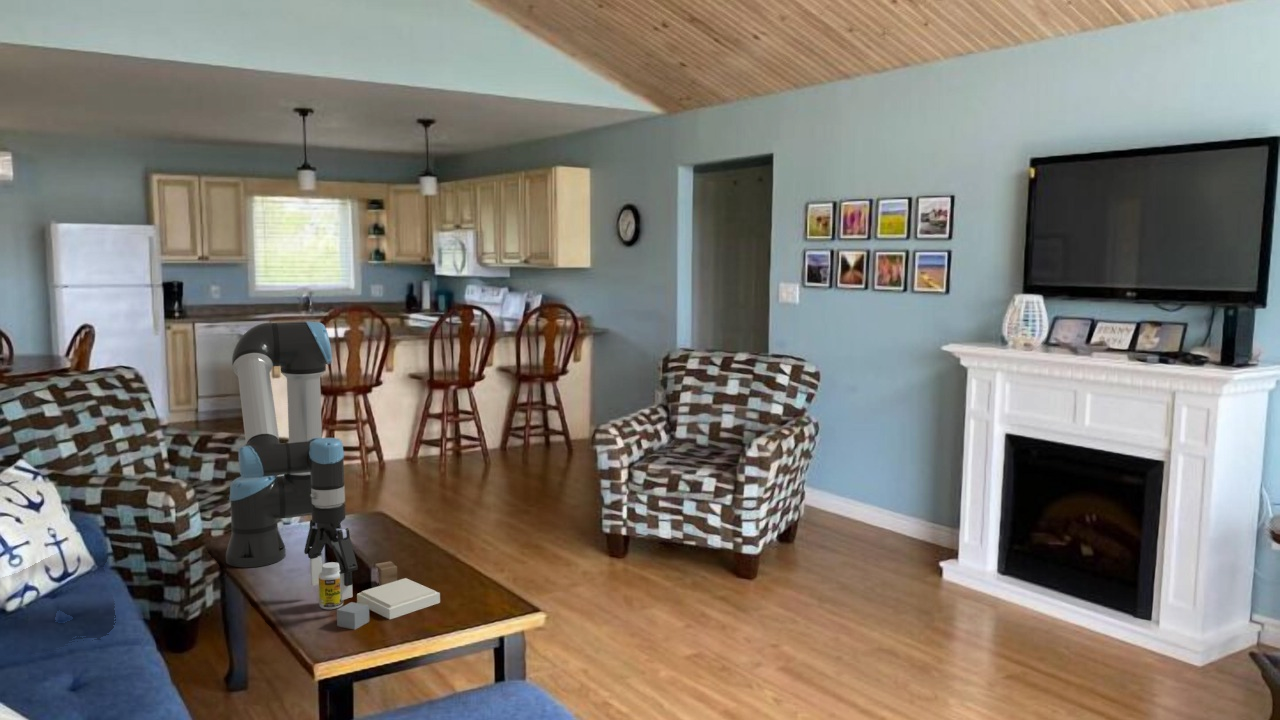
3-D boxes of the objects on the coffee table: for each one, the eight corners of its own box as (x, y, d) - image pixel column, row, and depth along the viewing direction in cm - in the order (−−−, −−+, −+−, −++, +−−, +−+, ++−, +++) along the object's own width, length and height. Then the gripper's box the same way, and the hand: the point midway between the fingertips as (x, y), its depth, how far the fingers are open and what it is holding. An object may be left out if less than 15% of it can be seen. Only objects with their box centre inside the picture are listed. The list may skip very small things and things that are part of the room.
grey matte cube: (337, 626, 214) (336, 609, 213) (351, 618, 218) (351, 601, 218) (355, 630, 212) (354, 613, 211) (369, 622, 217) (369, 605, 216)
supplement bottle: (323, 612, 222) (321, 570, 220) (316, 604, 226) (315, 563, 225) (346, 607, 225) (345, 566, 223) (340, 599, 229) (338, 559, 228)
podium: (357, 603, 227) (356, 591, 227) (406, 587, 237) (406, 576, 237) (389, 619, 218) (389, 607, 217) (440, 602, 228) (439, 590, 228)
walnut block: (375, 582, 241) (375, 563, 240) (391, 579, 243) (390, 561, 242) (381, 588, 237) (381, 569, 236) (397, 585, 239) (397, 566, 238)
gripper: (287, 497, 228) (290, 582, 230) (341, 517, 211) (344, 608, 213) (316, 492, 233) (319, 574, 236) (371, 511, 217) (374, 599, 219)
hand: (331, 591), depth 225 cm, fingers open, 13 cm apart
